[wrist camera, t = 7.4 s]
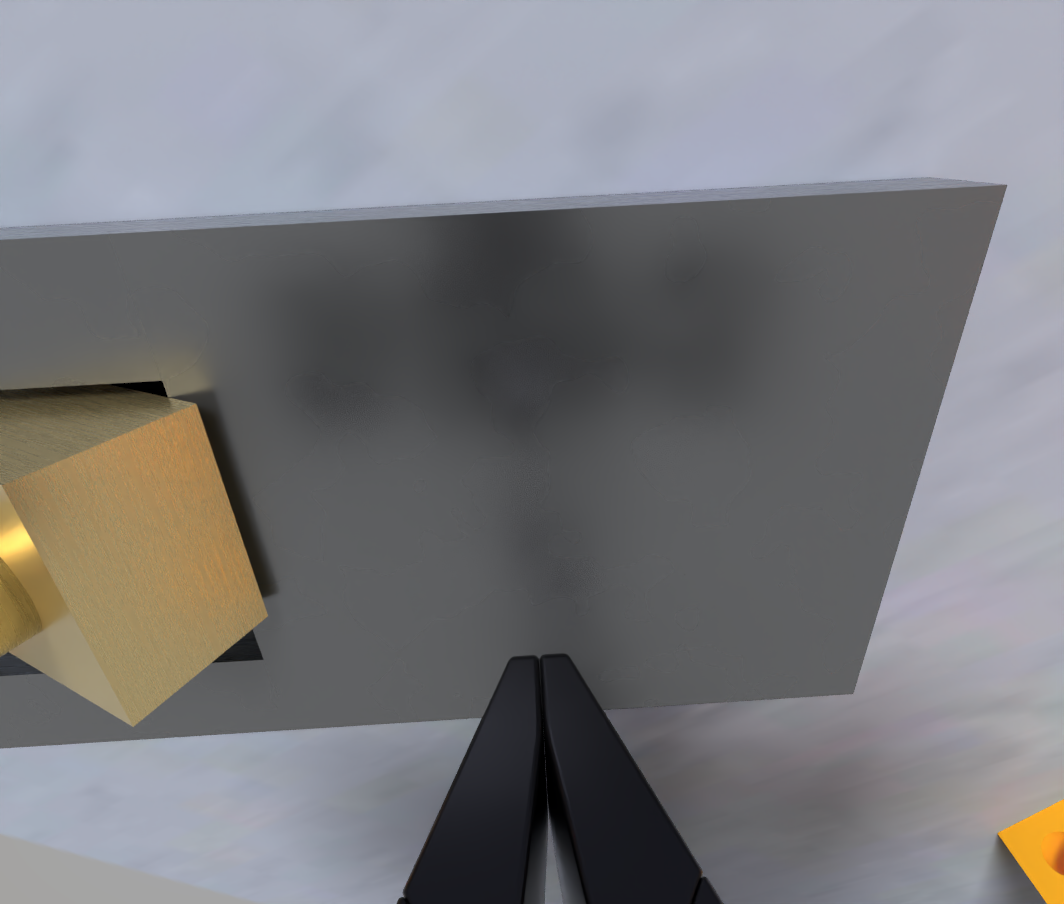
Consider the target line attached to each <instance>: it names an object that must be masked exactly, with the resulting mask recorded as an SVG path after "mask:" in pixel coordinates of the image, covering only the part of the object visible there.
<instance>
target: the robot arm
mask: <svg viewBox="0 0 1064 904" xmlns="http://www.w3.org/2000/svg"><path fill="white" fill-rule="evenodd" d="M539 661H540V667H539ZM540 679H541V683H540ZM541 696H542V699H541ZM542 713H543V715H542ZM543 729H544V732H543ZM544 746H545V749H544ZM545 762H546V767H545ZM546 779H547V784H546ZM547 795H548V802H547ZM548 808H549V819H550V826H551V833H552V840H553V845H554V851H555V857H556V863H557V869H558V874H559V880H560V886H561V892H562V897H563V903H564V904H723V902H722V901H721V899H720V897H719V896H718V894H717V893H716V891H715V889H714V888H713V886H712V884H711V883H710V881H709V880H708V878H706V877H702V875H703V871H702V869H701V867H700V866H699V864H698V862H697V861H696V859H695V858H694V856H693V854H692V853H691V851H690V850H689V848H688V846H687V845H686V843H685V841H684V840H683V838H682V837H681V835H680V833H679V832H678V830H677V829H676V827H675V825H674V824H673V822H672V820H671V819H670V817H669V816H668V814H667V812H666V811H665V809H664V808H663V806H662V804H661V803H660V801H659V800H658V798H657V796H656V795H655V793H654V791H653V790H652V788H651V787H650V785H649V783H648V782H647V780H646V779H645V777H644V775H643V774H642V772H641V770H640V769H639V767H638V766H637V764H636V762H635V761H634V759H633V758H632V756H631V754H630V753H629V751H628V749H627V748H626V746H625V745H624V743H623V741H622V740H621V738H620V737H619V735H618V733H617V732H616V730H615V729H614V727H613V725H612V724H611V722H610V720H609V719H608V717H607V716H606V714H605V712H604V711H603V709H602V708H601V706H600V704H599V703H598V701H597V699H596V698H595V696H594V695H593V693H592V691H591V690H590V688H589V687H588V685H587V683H586V682H585V680H584V679H583V677H582V675H581V674H580V672H579V670H578V669H577V667H576V666H575V664H574V662H573V661H572V659H571V658H570V657H569V655H567V654H566V653H557V654H544V655H542V656H541V657H540V660H539V658H538V657H537V656H536V655H526V656H514V657H511V658H510V659H509V661H508V663H507V665H506V667H505V669H504V671H503V673H502V676H501V678H500V680H499V682H498V684H497V686H496V689H495V691H494V693H493V695H492V697H491V700H490V702H489V704H488V706H487V708H486V710H485V713H484V715H483V717H482V719H481V721H480V724H479V726H478V728H477V730H476V732H475V734H474V737H473V739H472V741H471V743H470V745H469V748H468V750H467V752H466V754H465V756H464V758H463V761H462V763H461V765H460V767H459V769H458V772H457V774H456V776H455V778H454V780H453V782H452V785H451V787H450V789H449V791H448V793H447V796H446V798H445V800H444V802H443V804H442V806H441V809H440V811H439V813H438V815H437V817H436V820H435V822H434V824H433V826H432V828H431V830H430V833H429V835H428V837H427V839H426V841H425V844H424V846H423V848H422V850H421V852H420V854H419V857H418V859H417V861H416V863H415V865H414V868H413V870H412V872H411V874H410V876H409V878H408V881H407V883H406V885H405V887H404V889H403V895H404V897H401V898H399V900H398V902H397V904H544V901H545V881H546V861H547V841H548Z"/></svg>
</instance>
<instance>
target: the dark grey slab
mask: <svg viewBox="0 0 1064 904" xmlns="http://www.w3.org/2000/svg"><path fill="white" fill-rule="evenodd" d="M1006 187H1007V185H1004V184H993V183H983V182H972V181H962V180H951V179H940V178H930V177H929V178H911V179H892V180H874V181H856V182H837V183H819V184H800V185H782V186H764V187H745V188H727V189H709V190H690V191H672V192H653V193H635V194H617V195H598V196H580V197H561V198H543V199H525V200H506V201H488V202H470V203H451V204H433V205H414V206H396V207H378V208H359V209H341V210H322V211H304V212H286V213H267V214H249V215H231V216H212V217H194V218H175V219H157V220H139V221H120V222H102V223H83V224H65V225H47V226H28V227H10V228H0V390H9V389H26V388H44V387H61V386H79V385H96V384H114V383H131V382H148V381H162V382H163V384H164V387H165V390H166V393H167V395H168V398H173V399H177V400H182V401H187V402H191V403H196V404H197V407H198V410H199V413H200V416H201V419H202V422H203V425H204V428H205V431H206V434H207V437H208V440H209V443H210V445H211V448H212V451H213V454H214V457H215V460H216V463H217V466H218V469H219V472H220V475H221V478H222V481H223V484H224V487H225V490H226V493H227V496H228V499H229V502H230V505H231V508H232V511H233V514H234V516H235V519H236V522H237V525H238V528H239V531H240V534H241V537H242V540H243V543H244V546H245V549H246V552H247V555H248V558H249V561H250V564H251V567H252V570H253V573H254V576H255V579H256V582H257V585H258V587H259V590H260V593H261V596H262V599H263V602H264V605H265V608H266V611H267V614H268V617H266V618H265V619H264V620H263V621H262V622H260V623H259V624H258V625H257V626H255V627H254V628H253V629H252V630H251V631H249V632H248V633H247V634H246V635H245V636H243V637H242V638H241V639H240V640H238V641H237V642H236V643H235V644H234V645H232V646H231V647H230V648H229V649H228V650H226V651H225V652H224V653H223V654H221V655H220V656H219V657H218V658H217V659H215V660H214V661H213V662H212V663H210V664H209V665H208V666H207V667H206V668H204V669H203V670H202V671H201V672H200V673H198V674H197V675H196V676H195V677H193V678H192V679H191V680H190V681H189V682H187V683H186V684H185V685H184V686H183V687H181V688H180V689H179V690H178V691H176V692H175V693H174V694H173V695H172V696H170V697H169V698H168V699H167V700H165V701H164V702H163V703H162V704H161V705H159V706H158V707H157V708H156V709H155V710H153V711H152V712H151V713H150V714H148V715H147V716H146V717H145V718H144V719H142V720H141V721H140V722H139V723H138V724H136V725H135V726H134V727H132V726H131V725H129V724H127V723H126V722H124V721H122V720H121V719H119V718H117V717H116V716H114V715H112V714H111V713H109V712H107V711H106V710H104V709H102V708H101V707H99V706H97V705H96V704H94V703H93V702H91V701H89V700H88V699H86V698H84V697H83V696H81V695H79V694H78V693H76V692H74V691H73V690H71V689H69V688H68V687H66V686H64V685H63V684H61V683H59V682H58V681H56V680H54V679H53V678H51V677H49V676H48V675H46V674H44V673H43V672H41V671H39V670H38V669H36V668H34V667H33V666H31V665H29V664H28V663H26V662H24V661H23V660H21V659H19V658H18V657H16V656H14V655H13V654H11V653H9V652H8V653H6V654H5V655H3V656H1V657H0V748H15V747H30V746H46V745H62V744H77V743H93V742H108V741H124V740H140V739H155V738H171V737H187V736H202V735H218V734H234V733H249V732H265V731H280V730H296V729H312V728H327V727H343V726H359V725H374V724H390V723H406V722H421V721H437V720H453V719H468V718H482V717H483V715H484V713H485V710H486V708H487V706H488V704H489V702H490V700H491V697H492V695H493V693H494V691H495V689H496V686H497V684H498V682H499V680H500V678H501V676H502V673H503V671H504V669H505V667H506V665H507V663H508V661H509V659H510V658H511V657H514V656H526V655H536V656H537V657H538V658H539V660H540V657H541V656H542V655H544V654H557V653H566V654H567V655H569V657H570V658H571V659H572V661H573V662H574V664H575V666H576V667H577V669H578V670H579V672H580V674H581V675H582V677H583V679H584V680H585V682H586V683H587V685H588V687H589V688H590V690H591V691H592V693H593V695H594V696H595V698H596V699H597V701H598V703H599V704H600V706H601V708H602V709H603V710H609V709H625V708H640V707H656V706H672V705H687V704H703V703H718V702H734V701H750V700H765V699H781V698H797V697H812V696H828V695H844V694H853V693H854V689H855V686H856V683H857V679H858V676H859V673H860V670H861V666H862V663H863V660H864V656H865V653H866V650H867V646H868V643H869V640H870V636H871V633H872V630H873V627H874V623H875V620H876V617H877V613H878V610H879V607H880V603H881V600H882V597H883V594H884V590H885V587H886V584H887V580H888V577H889V574H890V570H891V567H892V564H893V561H894V557H895V554H896V551H897V547H898V544H899V541H900V537H901V534H902V531H903V527H904V524H905V521H906V518H907V514H908V511H909V508H910V504H911V501H912V498H913V494H914V491H915V488H916V485H917V481H918V478H919V475H920V471H921V468H922V465H923V461H924V458H925V455H926V452H927V448H928V445H929V442H930V438H931V435H932V432H933V428H934V425H935V422H936V418H937V415H938V412H939V409H940V405H941V402H942V399H943V395H944V392H945V389H946V385H947V382H948V379H949V376H950V372H951V369H952V366H953V362H954V359H955V356H956V352H957V349H958V346H959V343H960V339H961V336H962V333H963V329H964V326H965V323H966V319H967V316H968V313H969V309H970V306H971V303H972V300H973V296H974V293H975V290H976V286H977V283H978V280H979V276H980V273H981V270H982V267H983V263H984V260H985V257H986V253H987V250H988V247H989V243H990V240H991V237H992V233H993V230H994V227H995V224H996V220H997V217H998V214H999V210H1000V207H1001V204H1002V200H1003V197H1004V194H1005V191H1006ZM539 667H540V661H539ZM540 683H541V679H540ZM541 699H542V696H541ZM542 714H543V713H542Z"/></svg>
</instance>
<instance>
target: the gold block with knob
mask: <svg viewBox="0 0 1064 904" xmlns="http://www.w3.org/2000/svg"><path fill="white" fill-rule="evenodd" d="M266 617H268V614H267V611H266V608H265V605H264V602H263V599H262V596H261V593H260V590H259V587H258V585H257V582H256V579H255V576H254V573H253V570H252V567H251V564H250V561H249V558H248V555H247V552H246V549H245V546H244V543H243V540H242V537H241V534H240V531H239V528H238V525H237V522H236V519H235V516H234V514H233V511H232V508H231V505H230V502H229V499H228V496H227V493H226V490H225V487H224V484H223V481H222V478H221V475H220V472H219V469H218V466H217V463H216V460H215V457H214V454H213V451H212V448H211V445H210V443H209V440H208V437H207V434H206V431H205V428H204V425H203V422H202V419H201V416H200V413H199V410H198V407H197V404H196V403H191V402H187V401H182V400H177V399H173V398H168V397H164V396H159V395H154V394H150V393H145V392H141V391H136V390H131V389H127V388H122V387H117V386H113V385H108V384H96V385H79V386H61V387H44V388H26V389H9V390H0V657H1V656H3V655H5V654H6V653H8V652H9V653H11V654H13V655H14V656H16V657H18V658H19V659H21V660H23V661H24V662H26V663H28V664H29V665H31V666H33V667H34V668H36V669H38V670H39V671H41V672H43V673H44V674H46V675H48V676H49V677H51V678H53V679H54V680H56V681H58V682H59V683H61V684H63V685H64V686H66V687H68V688H69V689H71V690H73V691H74V692H76V693H78V694H79V695H81V696H83V697H84V698H86V699H88V700H89V701H91V702H93V703H94V704H96V705H97V706H99V707H101V708H102V709H104V710H106V711H107V712H109V713H111V714H112V715H114V716H116V717H117V718H119V719H121V720H122V721H124V722H126V723H127V724H129V725H131V726H132V727H134V726H135V725H136V724H138V723H139V722H140V721H141V720H142V719H144V718H145V717H146V716H147V715H148V714H150V713H151V712H152V711H153V710H155V709H156V708H157V707H158V706H159V705H161V704H162V703H163V702H164V701H165V700H167V699H168V698H169V697H170V696H172V695H173V694H174V693H175V692H176V691H178V690H179V689H180V688H181V687H183V686H184V685H185V684H186V683H187V682H189V681H190V680H191V679H192V678H193V677H195V676H196V675H197V674H198V673H200V672H201V671H202V670H203V669H204V668H206V667H207V666H208V665H209V664H210V663H212V662H213V661H214V660H215V659H217V658H218V657H219V656H220V655H221V654H223V653H224V652H225V651H226V650H228V649H229V648H230V647H231V646H232V645H234V644H235V643H236V642H237V641H238V640H240V639H241V638H242V637H243V636H245V635H246V634H247V633H248V632H249V631H251V630H252V629H253V628H254V627H255V626H257V625H258V624H259V623H260V622H262V621H263V620H264V619H265V618H266Z"/></svg>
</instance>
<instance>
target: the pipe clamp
mask: <svg viewBox="0 0 1064 904" xmlns="http://www.w3.org/2000/svg"><path fill="white" fill-rule="evenodd" d="M998 835H999V836H1000V838H1001V839H1002V841H1003V842H1004V843H1005V845H1006V846H1007V848H1008V849H1009V850H1010V852H1011V853H1012V855H1013V856H1014V858H1015V859H1016V860H1017V862H1018V863H1019V865H1020V866H1021V867H1022V869H1023V870H1024V872H1025V873H1026V875H1027V876H1028V877H1029V879H1030V880H1031V882H1032V883H1033V885H1034V886H1035V887H1036V889H1037V890H1038V892H1039V893H1040V894H1041V896H1042V897H1043V899H1044V900H1045V902H1046V903H1047V904H1064V799H1063V800H1061V801H1059V802H1057V803H1055V804H1054V805H1052V806H1050V807H1048V808H1046V809H1044V810H1042V811H1040V812H1038V813H1036V814H1034V815H1032V816H1030V817H1028V818H1026V819H1024V820H1022V821H1020V822H1018V823H1016V824H1014V825H1012V826H1010V827H1008V828H1006V829H1005V830H1003V831H1001V832H999V833H998Z"/></svg>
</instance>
